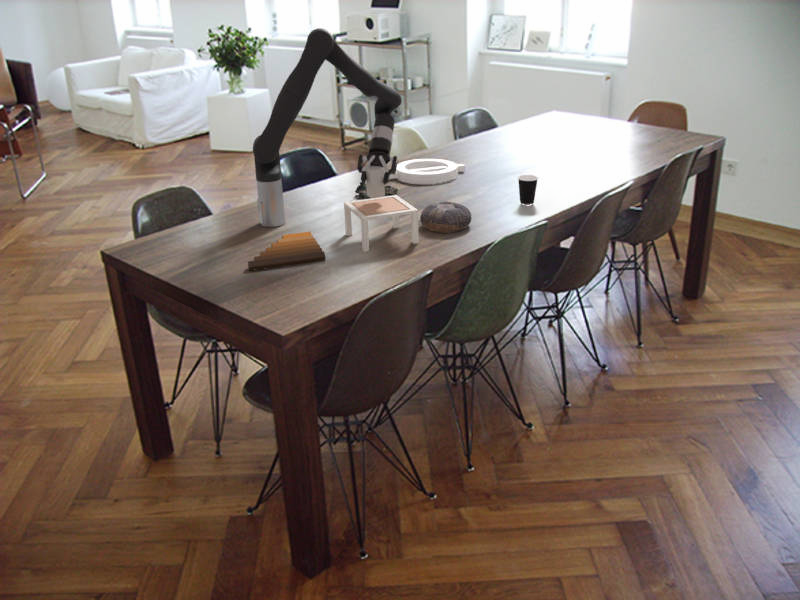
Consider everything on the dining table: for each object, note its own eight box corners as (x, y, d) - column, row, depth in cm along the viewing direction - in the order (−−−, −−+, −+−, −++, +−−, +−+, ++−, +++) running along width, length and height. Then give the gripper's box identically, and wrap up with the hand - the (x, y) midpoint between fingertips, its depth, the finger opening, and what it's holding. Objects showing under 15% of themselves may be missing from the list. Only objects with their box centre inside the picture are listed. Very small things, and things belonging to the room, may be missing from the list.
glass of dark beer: (541, 205, 306) (542, 177, 301) (526, 208, 302) (527, 181, 297) (527, 200, 312) (528, 173, 307) (512, 204, 308) (513, 177, 303)
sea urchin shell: (482, 224, 285) (480, 199, 280) (448, 245, 275) (445, 220, 270) (445, 212, 297) (442, 189, 292) (411, 233, 287) (407, 208, 282)
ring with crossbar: (467, 172, 356) (467, 161, 354) (441, 187, 333) (441, 177, 331) (412, 166, 368) (412, 156, 366) (384, 181, 345) (384, 170, 343)
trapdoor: (367, 218, 261) (367, 215, 261) (353, 205, 274) (352, 203, 274) (408, 212, 266) (408, 209, 266) (392, 200, 279) (392, 197, 279)
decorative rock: (384, 178, 335) (407, 181, 324) (385, 192, 337) (407, 196, 326) (349, 183, 323) (371, 188, 312) (349, 198, 325) (371, 203, 314)
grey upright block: (371, 198, 270) (370, 170, 266) (366, 194, 274) (365, 167, 270) (384, 196, 271) (384, 168, 267) (379, 192, 276) (378, 165, 271)
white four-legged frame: (364, 251, 263) (362, 218, 258) (345, 234, 280) (343, 202, 275) (418, 243, 270) (417, 209, 265) (397, 226, 287) (396, 194, 282)
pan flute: (250, 273, 250) (325, 262, 257) (248, 263, 248) (325, 253, 255) (240, 248, 271) (310, 239, 278) (238, 239, 270) (309, 230, 277)
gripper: (359, 135, 273) (351, 177, 267) (399, 136, 270) (392, 178, 264) (364, 146, 280) (356, 187, 274) (402, 148, 276) (396, 189, 271)
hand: (374, 183), depth 269 cm, fingers closed on grey upright block, 7 cm apart
